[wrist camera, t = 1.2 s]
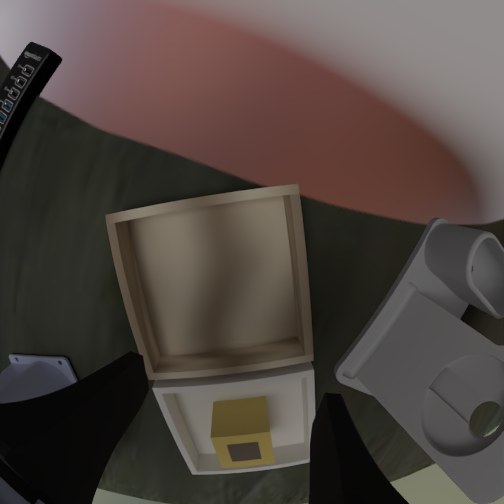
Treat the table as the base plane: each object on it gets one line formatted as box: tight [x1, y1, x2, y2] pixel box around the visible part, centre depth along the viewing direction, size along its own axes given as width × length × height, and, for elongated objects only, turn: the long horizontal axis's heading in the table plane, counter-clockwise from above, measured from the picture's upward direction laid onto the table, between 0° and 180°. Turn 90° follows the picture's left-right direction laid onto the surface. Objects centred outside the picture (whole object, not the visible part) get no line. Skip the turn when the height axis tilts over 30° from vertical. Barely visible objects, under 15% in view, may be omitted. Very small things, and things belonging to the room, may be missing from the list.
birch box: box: [105, 184, 314, 380], centre depth 19 cm, size 12×12×3 cm
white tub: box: [152, 361, 315, 474], centre depth 22 cm, size 12×12×3 cm
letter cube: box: [210, 396, 275, 468], centre depth 21 cm, size 4×4×5 cm
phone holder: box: [334, 218, 504, 504], centre depth 14 cm, size 17×10×18 cm, turn 148°
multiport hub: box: [0, 42, 62, 170], centre depth 16 cm, size 4×14×2 cm, turn 145°
